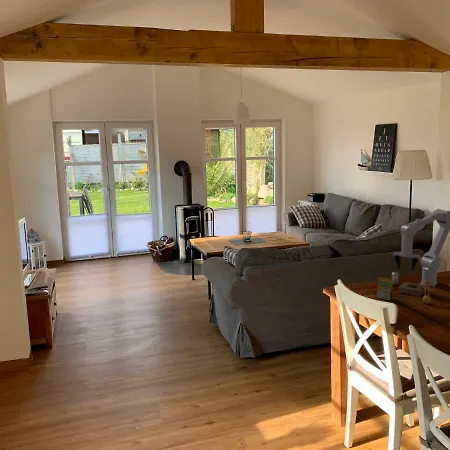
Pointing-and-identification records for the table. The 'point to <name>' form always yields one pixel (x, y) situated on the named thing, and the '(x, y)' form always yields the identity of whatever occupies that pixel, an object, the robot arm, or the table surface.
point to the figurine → (426, 298)
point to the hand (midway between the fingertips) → (405, 269)
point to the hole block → (411, 289)
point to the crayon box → (384, 288)
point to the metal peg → (395, 278)
